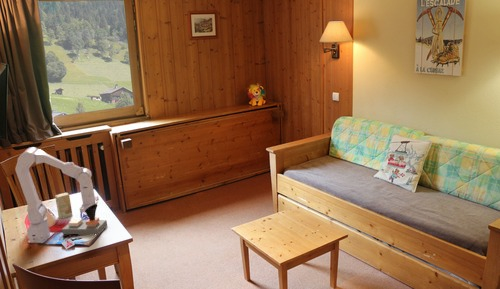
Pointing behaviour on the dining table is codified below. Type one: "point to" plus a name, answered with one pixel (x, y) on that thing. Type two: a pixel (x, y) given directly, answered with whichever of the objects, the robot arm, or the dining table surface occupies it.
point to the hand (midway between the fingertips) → (92, 219)
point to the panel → (85, 228)
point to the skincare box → (63, 205)
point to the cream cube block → (75, 222)
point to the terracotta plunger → (92, 222)
